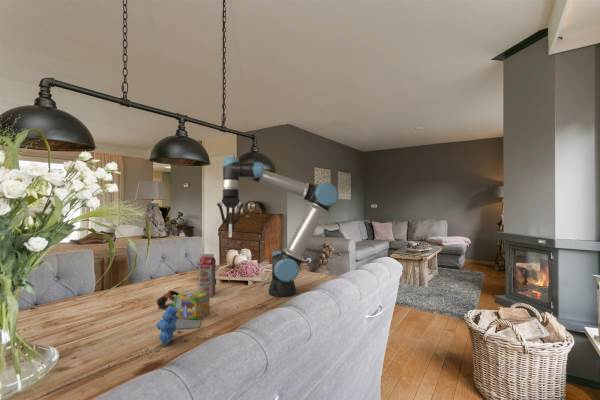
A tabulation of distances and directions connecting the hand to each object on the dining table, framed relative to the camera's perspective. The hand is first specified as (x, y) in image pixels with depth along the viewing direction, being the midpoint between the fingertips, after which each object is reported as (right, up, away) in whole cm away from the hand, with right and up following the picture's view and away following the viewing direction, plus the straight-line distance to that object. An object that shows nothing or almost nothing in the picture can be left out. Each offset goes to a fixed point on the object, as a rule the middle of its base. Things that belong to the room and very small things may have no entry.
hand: (230, 237), depth 142 cm
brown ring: (-28, -32, -6) cm, 43 cm away
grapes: (-13, -32, -40) cm, 53 cm away
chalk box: (-7, -27, -19) cm, 34 cm away
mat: (-14, -32, -22) cm, 41 cm away
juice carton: (-15, -33, +11) cm, 38 cm away
